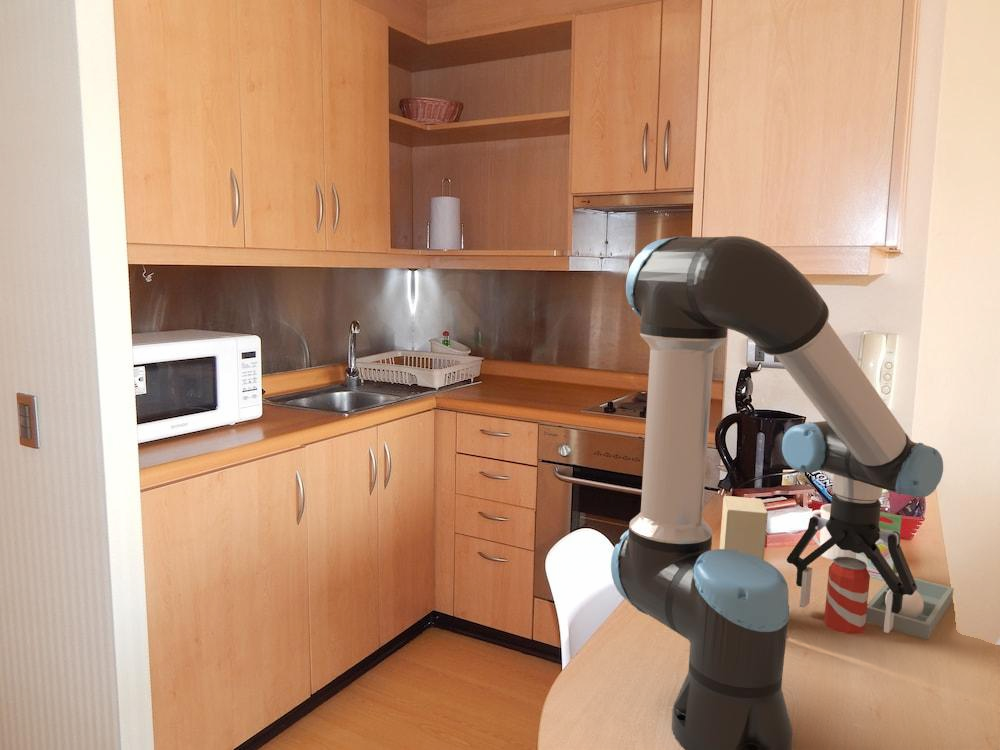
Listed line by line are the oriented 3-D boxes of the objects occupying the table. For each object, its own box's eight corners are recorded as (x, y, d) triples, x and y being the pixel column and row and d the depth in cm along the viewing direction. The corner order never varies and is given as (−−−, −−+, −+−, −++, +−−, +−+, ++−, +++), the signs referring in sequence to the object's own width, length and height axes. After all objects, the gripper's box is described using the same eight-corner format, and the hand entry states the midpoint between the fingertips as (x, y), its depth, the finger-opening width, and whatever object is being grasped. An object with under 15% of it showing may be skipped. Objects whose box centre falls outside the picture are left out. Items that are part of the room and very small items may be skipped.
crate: (927, 644, 129) (929, 625, 128) (862, 624, 135) (864, 606, 135) (951, 604, 144) (953, 587, 144) (892, 589, 150) (894, 573, 150)
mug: (857, 551, 170) (861, 505, 168) (866, 567, 161) (870, 519, 160) (803, 546, 172) (807, 501, 171) (809, 561, 164) (813, 514, 162)
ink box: (853, 577, 156) (859, 512, 154) (859, 571, 159) (865, 508, 157) (891, 587, 152) (898, 520, 150) (896, 581, 155) (903, 515, 153)
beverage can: (862, 641, 129) (869, 572, 127) (821, 631, 132) (827, 564, 131) (865, 627, 134) (872, 560, 133) (826, 617, 138) (832, 552, 136)
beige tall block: (762, 632, 131) (772, 512, 128) (717, 627, 133) (726, 508, 130) (757, 612, 139) (766, 498, 136) (714, 607, 141) (722, 495, 138)
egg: (917, 630, 132) (921, 597, 131) (879, 619, 135) (882, 587, 135) (925, 618, 136) (929, 586, 135) (888, 608, 140) (891, 576, 139)
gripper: (945, 507, 125) (931, 632, 128) (789, 477, 141) (780, 589, 144) (935, 519, 119) (920, 649, 122) (773, 486, 135) (764, 602, 138)
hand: (845, 617), depth 133 cm, fingers open, 13 cm apart
